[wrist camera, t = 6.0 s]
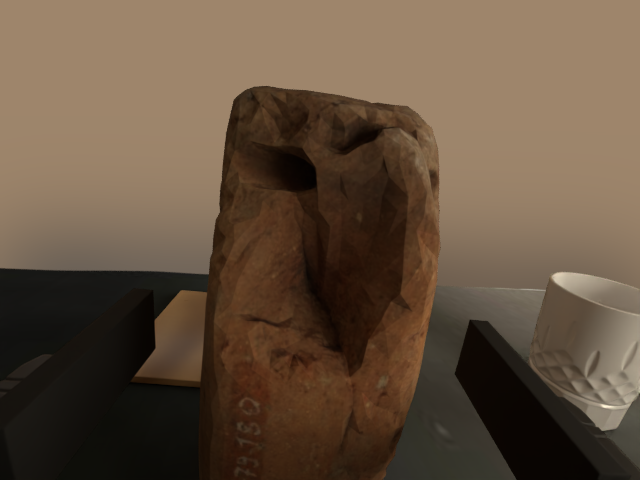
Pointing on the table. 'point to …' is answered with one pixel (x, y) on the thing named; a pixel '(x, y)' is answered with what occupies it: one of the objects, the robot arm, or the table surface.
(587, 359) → the white cup
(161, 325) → the cork mat
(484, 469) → the table surface
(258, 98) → the block
